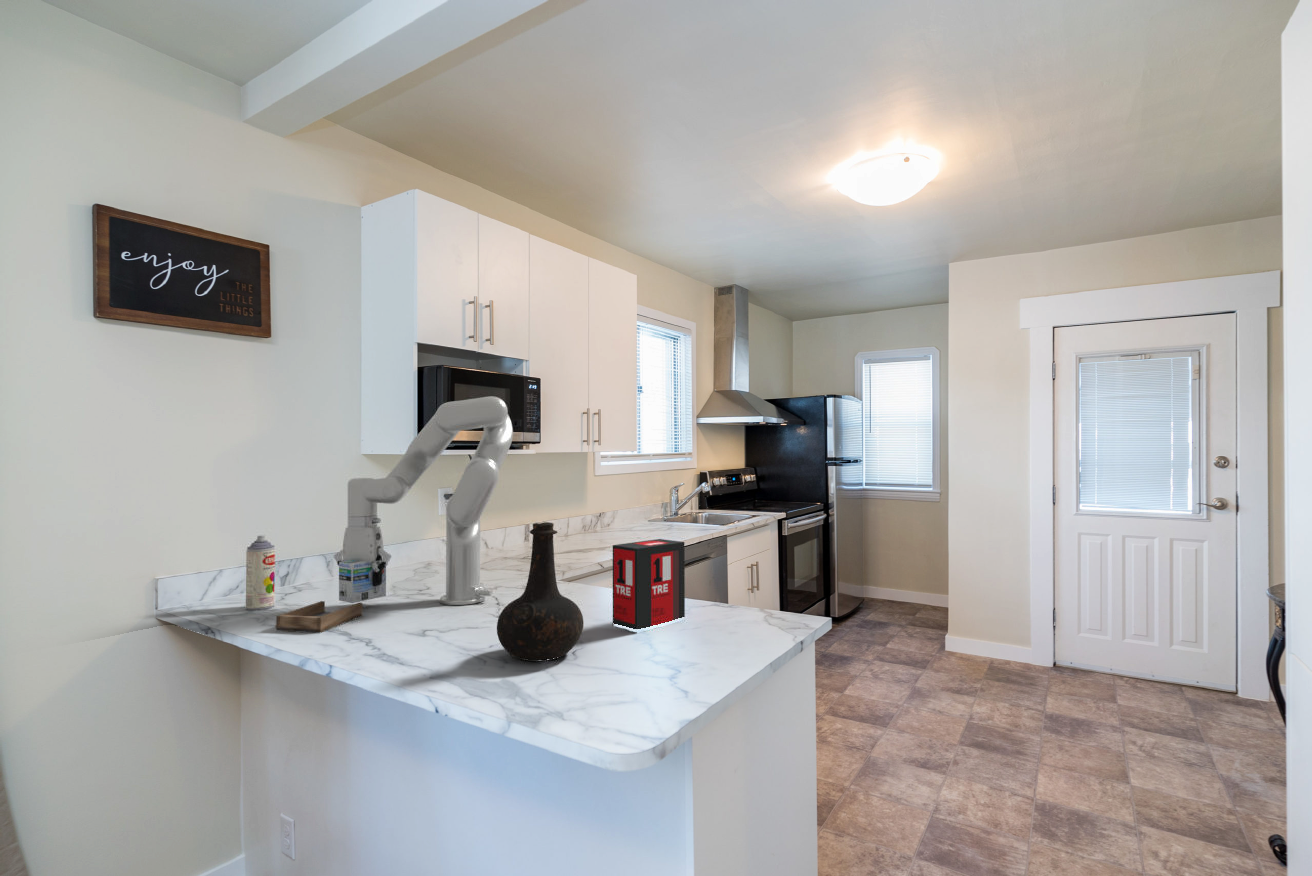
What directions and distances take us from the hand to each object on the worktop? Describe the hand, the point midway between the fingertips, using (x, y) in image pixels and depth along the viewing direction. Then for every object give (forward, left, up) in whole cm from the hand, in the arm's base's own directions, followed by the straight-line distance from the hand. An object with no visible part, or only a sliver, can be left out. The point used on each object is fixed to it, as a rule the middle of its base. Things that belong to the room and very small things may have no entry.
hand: (362, 584), depth 180 cm
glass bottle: (-64, +33, -7) cm, 72 cm away
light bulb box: (0, 0, -4) cm, 4 cm away
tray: (0, +17, -6) cm, 18 cm away
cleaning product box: (-82, +4, -7) cm, 82 cm away
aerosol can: (+28, +5, -7) cm, 29 cm away
